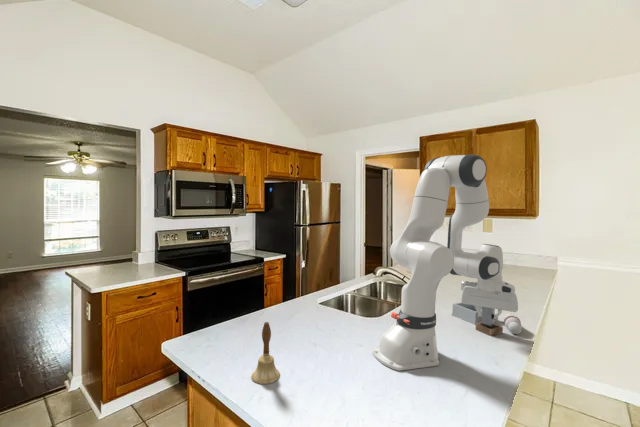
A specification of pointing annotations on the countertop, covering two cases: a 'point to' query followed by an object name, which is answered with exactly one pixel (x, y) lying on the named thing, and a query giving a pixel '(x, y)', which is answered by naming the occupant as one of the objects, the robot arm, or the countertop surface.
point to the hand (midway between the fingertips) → (487, 318)
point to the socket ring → (489, 331)
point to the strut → (488, 317)
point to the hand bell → (265, 362)
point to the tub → (467, 312)
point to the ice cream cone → (512, 323)
